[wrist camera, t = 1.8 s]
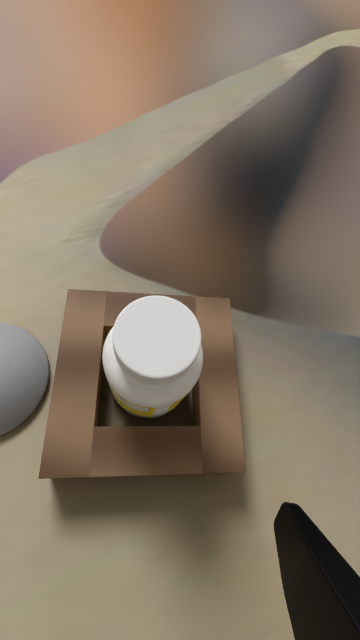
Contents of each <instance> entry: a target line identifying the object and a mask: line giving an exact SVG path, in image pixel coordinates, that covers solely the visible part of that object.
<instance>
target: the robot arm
mask: <svg viewBox="0 0 360 640" xmlns="http://www.w3.org/2000/svg"><path fill="white" fill-rule="evenodd" d="M274 532H275V538H276V545H277V551H278V558H279V565H280V571H281V578H282V584H283V590H284V594H285V599H286V603H287V608H288V612H289V616H290V620H291V624H292V628H293V633H294V637H295V640H360V577H359V576H358V575H357V573H356V572H355V571H354V570H353V569H352V567H351V566H350V565H349V564H348V563H347V562H346V560H345V559H344V558H343V557H342V556H341V554H340V553H339V552H338V551H337V550H336V549H335V547H334V546H333V545H332V544H331V543H330V542H329V540H328V539H327V538H326V537H325V536H324V534H323V533H322V532H321V531H320V530H319V529H318V527H317V526H316V525H315V524H314V523H313V521H312V520H311V519H310V518H309V517H308V516H307V514H306V513H305V512H304V511H303V510H302V508H301V507H300V506H299V505H297V504H295V503H289V502H284V503H283V504H282V505H281V507H280V509H279V511H278V514H277V516H276V518H275V521H274Z"/></svg>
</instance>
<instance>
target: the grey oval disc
mask: <svg viewBox="0 0 360 640" xmlns="http://www.w3.org/2000/svg"><path fill="white" fill-rule="evenodd" d="M49 373H50V371H49V362H48V358H47V355H46V352H45V350H44V349H43V347H42V345H41V344H40V343H39V342H38V340H37V339H36V338H35V337H34V336H33V335H31V334H30V333H28V332H27V331H25V330H23V329H21V328H19V327H16V326H14V325H9V324H2V323H0V436H1V435H3V434H5V433H8V432H9V431H11V430H13V429H14V428H16V427H17V426H19V425H20V424H21V423H23V422H24V421H25V420H26V419H27V418H28V417H29V416H30V415H31V414H32V413H33V412H34V411H35V409H36V408H37V406H38V405H39V404H40V402H41V400H42V398H43V396H44V394H45V392H46V389H47V386H48V381H49Z"/></svg>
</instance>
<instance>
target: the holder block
mask: <svg viewBox="0 0 360 640" xmlns="http://www.w3.org/2000/svg"><path fill="white" fill-rule="evenodd" d="M147 296H165V297H170V298H173V299H175V300H177V301H179V302H181V303H182V304H184V305H185V306H186V307H187V308H189V309H190V310H191V312H192V313H193V314H194V316H195V317H196V319H197V321H198V323H199V326H200V329H201V337H202V339H201V345H202V350H203V366H202V370H201V373H200V376H199V378H198V380H197V382H196V384H195V385H194V387H193V388H192V404H193V426H98V425H99V414H100V403H101V392H102V380H103V369H104V368H103V360H102V354H103V346H104V343H105V340H106V338H107V336H108V334H109V332H110V330H111V329H112V328H113V326H114V324H115V321H116V319H117V317H118V316H119V314H120V313H121V311H122V310H123V309H124V308H125V307H126V306H127V305H129V304H130V303H131V302H133V301H135V300H137V299H140V298H142V297H147ZM240 472H246V468H245V458H244V447H243V437H242V426H241V415H240V405H239V394H238V384H237V373H236V363H235V352H234V341H233V331H232V320H231V310H230V299H229V298H212V297H195V296H178V295H160V294H143V293H126V292H108V291H91V290H74V289H68V294H67V300H66V307H65V313H64V319H63V326H62V332H61V339H60V345H59V351H58V358H57V364H56V370H55V377H54V383H53V390H52V396H51V402H50V409H49V415H48V421H47V428H46V434H45V440H44V447H43V453H42V460H41V466H40V472H39V479H43V478H76V477H109V476H142V475H174V474H207V473H240Z"/></svg>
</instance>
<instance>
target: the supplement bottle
mask: <svg viewBox="0 0 360 640" xmlns="http://www.w3.org/2000/svg"><path fill="white" fill-rule="evenodd" d="M201 339H202V337H201V329H200V326H199V323H198V321H197V319H196V317H195V316H194V314H193V313H192V312H191V310H190V309H189V308H187V307H186V306H185V305H184V304H182V303H181V302H179V301H177V300H175V299H173V298H170V297H165V296H147V297H142V298H140V299H137V300H135V301H133V302H131V303H130V304H129V305H127V306H126V307H125V308H124V309H123V310H122V311H121V313H120V314H119V316H118V317H117V319H116V321H115V324H114V326H113V328H112V329H111V330H110V332H109V334H108V336H107V338H106V340H105V343H104V346H103V354H102V360H103V368H104V372H105V375H106V378H107V380H108V383H109V386H110V388H111V391H112V393H113V396H114V398H115V400H116V402H117V403H118V405H119V406H120V407H121V408H122V409H123V410H124V411H126V412H127V413H129V414H130V415H132V416H135V417H137V418H142V419H153V418H158V417H161V416H163V415H165V414H167V413H169V412H170V411H172V410H173V409H174V408H175V407H176V406H177V405H178V404H179V403H180V402H181V400H182V399H183V398H184V397H185V396H186V395H187V394H188V393H189V392H190V391H191V390H192V388H193V387H194V385H195V384H196V382H197V380H198V378H199V376H200V373H201V370H202V366H203V350H202V345H201Z"/></svg>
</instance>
